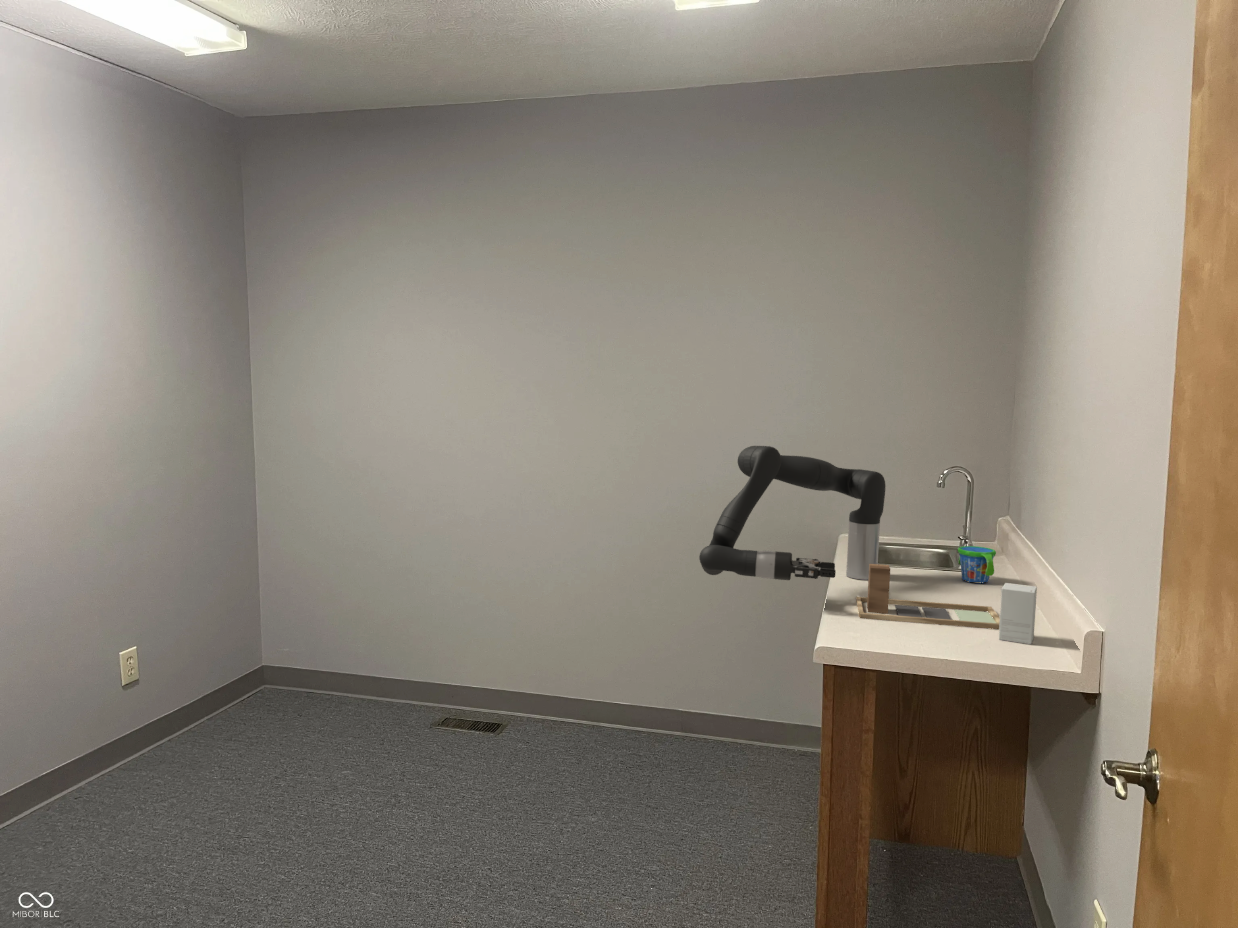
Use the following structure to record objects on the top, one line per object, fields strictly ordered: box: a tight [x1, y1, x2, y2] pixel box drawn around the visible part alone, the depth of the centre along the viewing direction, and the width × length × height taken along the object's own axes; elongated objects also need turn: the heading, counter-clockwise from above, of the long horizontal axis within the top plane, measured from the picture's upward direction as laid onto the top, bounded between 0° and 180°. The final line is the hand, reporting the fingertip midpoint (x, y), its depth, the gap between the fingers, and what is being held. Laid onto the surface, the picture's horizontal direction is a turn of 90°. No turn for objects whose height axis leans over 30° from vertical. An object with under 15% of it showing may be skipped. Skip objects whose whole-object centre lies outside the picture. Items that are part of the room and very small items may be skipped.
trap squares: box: [894, 605, 953, 620], centre depth 229 cm, size 12×13×1 cm
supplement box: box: [998, 582, 1038, 645], centre depth 208 cm, size 7×7×13 cm
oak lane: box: [855, 596, 1000, 630], centre depth 228 cm, size 18×35×1 cm, turn 77°
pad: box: [953, 609, 996, 623], centre depth 226 cm, size 12×8×1 cm
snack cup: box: [957, 545, 997, 584], centre depth 267 cm, size 16×10×10 cm
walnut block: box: [866, 563, 891, 615], centre depth 230 cm, size 5×5×12 cm
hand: (835, 570), depth 232 cm, fingers open, 8 cm apart
